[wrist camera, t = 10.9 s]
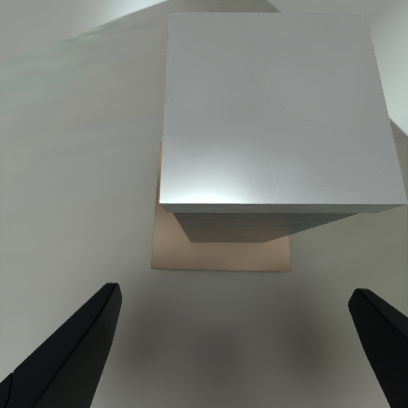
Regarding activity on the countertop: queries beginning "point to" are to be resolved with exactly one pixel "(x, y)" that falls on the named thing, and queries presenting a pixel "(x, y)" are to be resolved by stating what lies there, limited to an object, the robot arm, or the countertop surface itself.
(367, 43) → the tall grey square pillar
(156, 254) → the block
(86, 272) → the countertop surface
